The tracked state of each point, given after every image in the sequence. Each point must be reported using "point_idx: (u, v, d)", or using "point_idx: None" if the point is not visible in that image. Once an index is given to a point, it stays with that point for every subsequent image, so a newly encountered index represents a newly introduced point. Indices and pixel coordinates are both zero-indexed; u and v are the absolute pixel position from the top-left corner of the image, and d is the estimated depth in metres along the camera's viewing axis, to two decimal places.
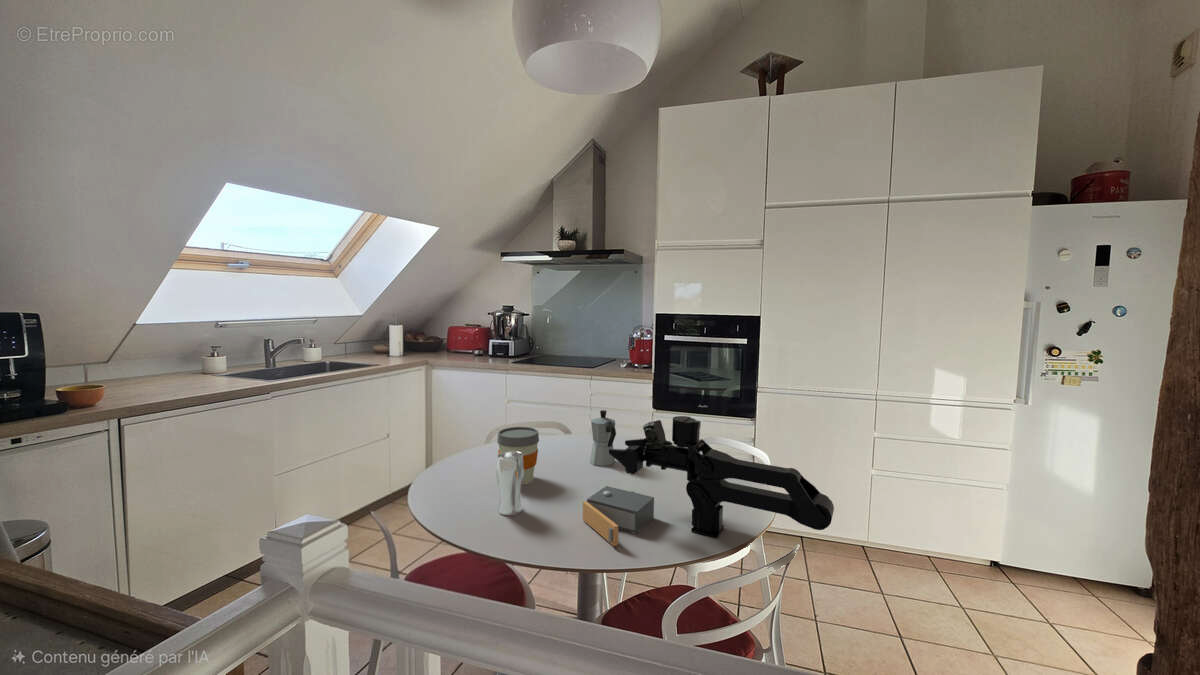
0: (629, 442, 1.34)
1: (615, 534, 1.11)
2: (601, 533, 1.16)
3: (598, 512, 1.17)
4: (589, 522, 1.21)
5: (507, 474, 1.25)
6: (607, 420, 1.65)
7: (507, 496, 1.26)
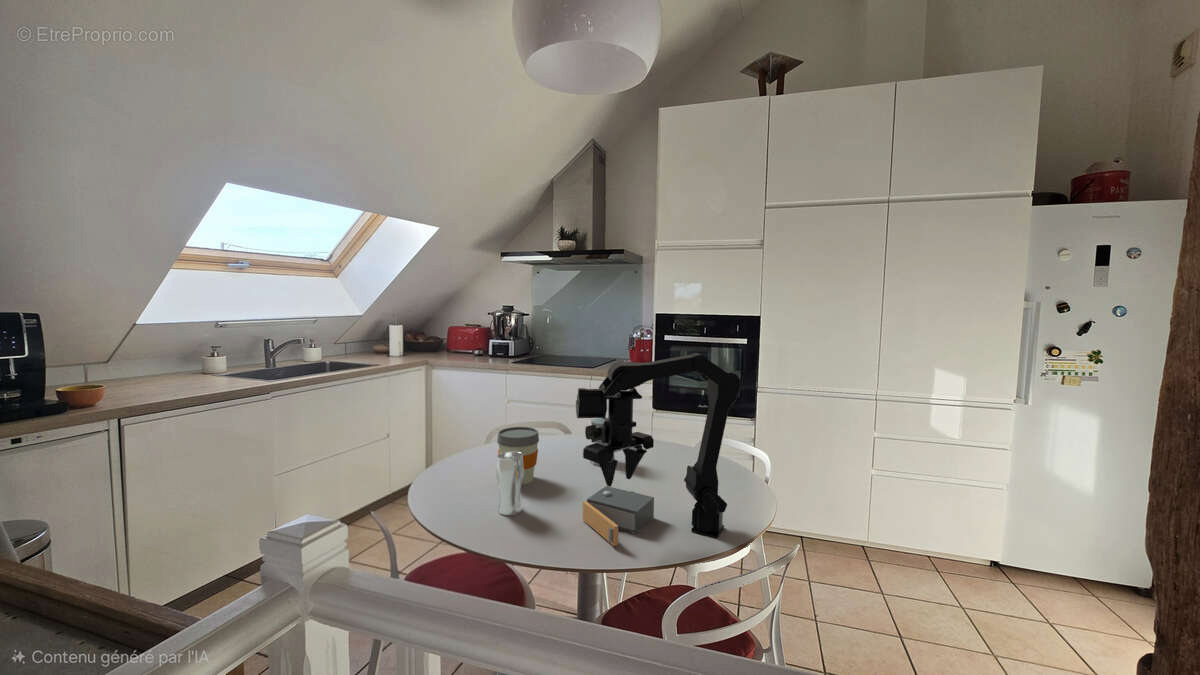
0: (627, 473, 1.18)
1: (615, 534, 1.11)
2: (601, 533, 1.16)
3: (598, 512, 1.17)
4: (589, 522, 1.21)
5: (507, 474, 1.25)
6: None
7: (507, 496, 1.26)
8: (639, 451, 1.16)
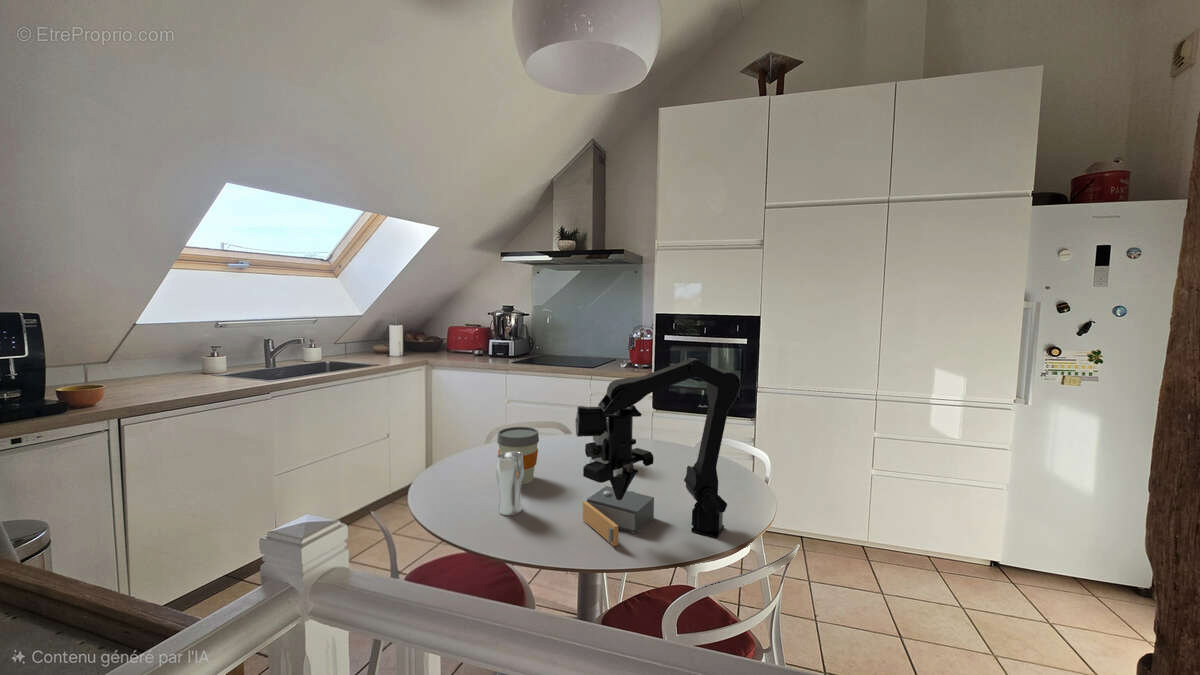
0: None
1: (615, 534, 1.11)
2: (601, 533, 1.16)
3: (598, 512, 1.17)
4: (589, 522, 1.21)
5: (507, 474, 1.25)
6: (607, 420, 1.65)
7: (507, 496, 1.26)
8: (631, 471, 1.15)
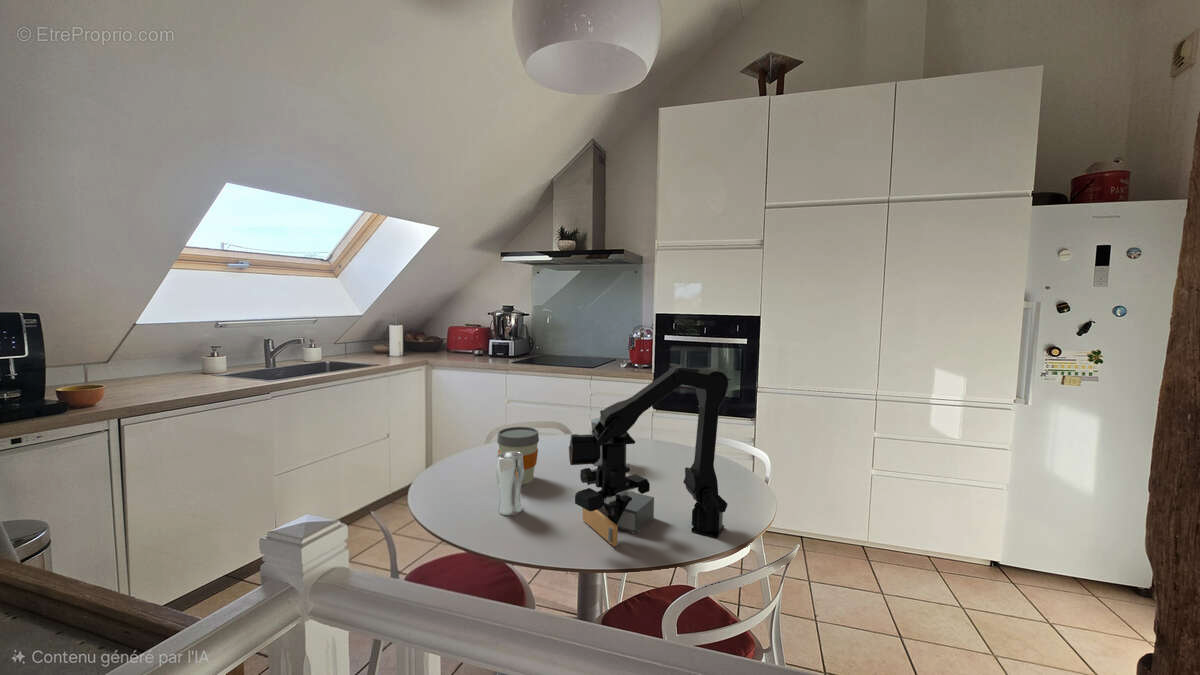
0: (612, 520, 1.15)
1: (614, 534, 1.11)
2: (601, 533, 1.16)
3: (598, 512, 1.17)
4: (589, 522, 1.21)
5: (507, 474, 1.25)
6: None
7: (507, 496, 1.26)
8: (624, 499, 1.14)
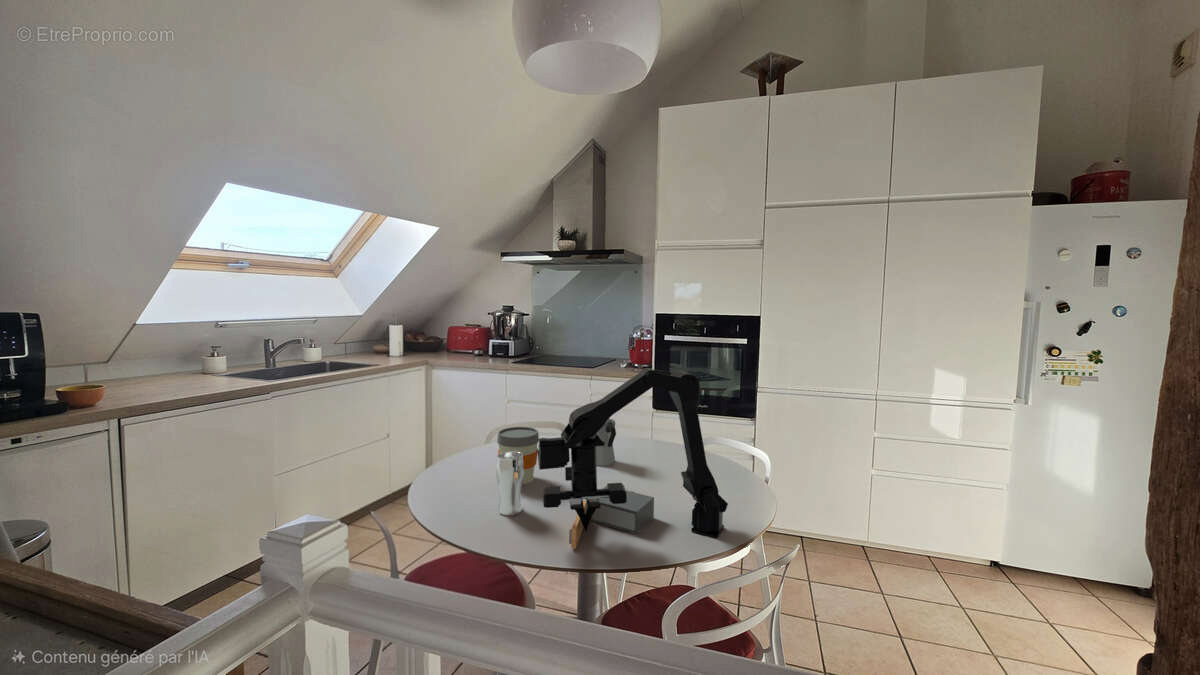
0: None
1: (572, 537, 1.09)
2: None
3: None
4: None
5: (507, 474, 1.25)
6: (607, 420, 1.65)
7: (507, 496, 1.26)
8: (590, 505, 1.10)
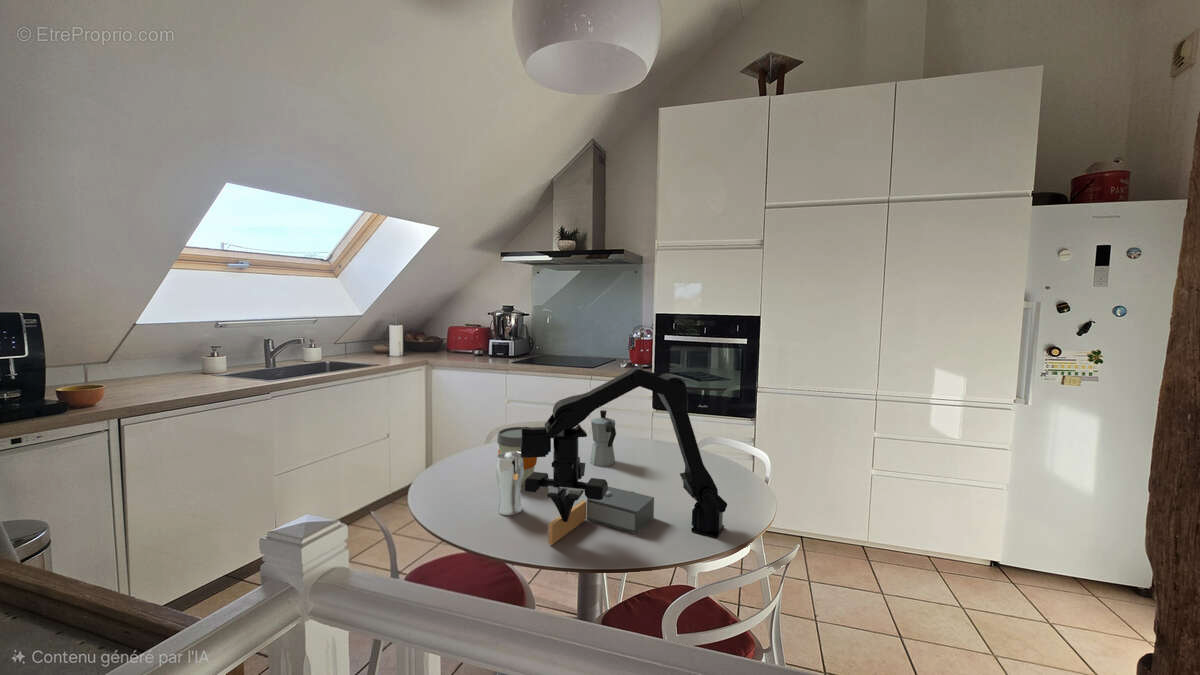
0: None
1: (549, 532, 1.11)
2: None
3: None
4: None
5: (507, 474, 1.25)
6: (607, 420, 1.65)
7: (507, 496, 1.26)
8: (568, 496, 1.11)
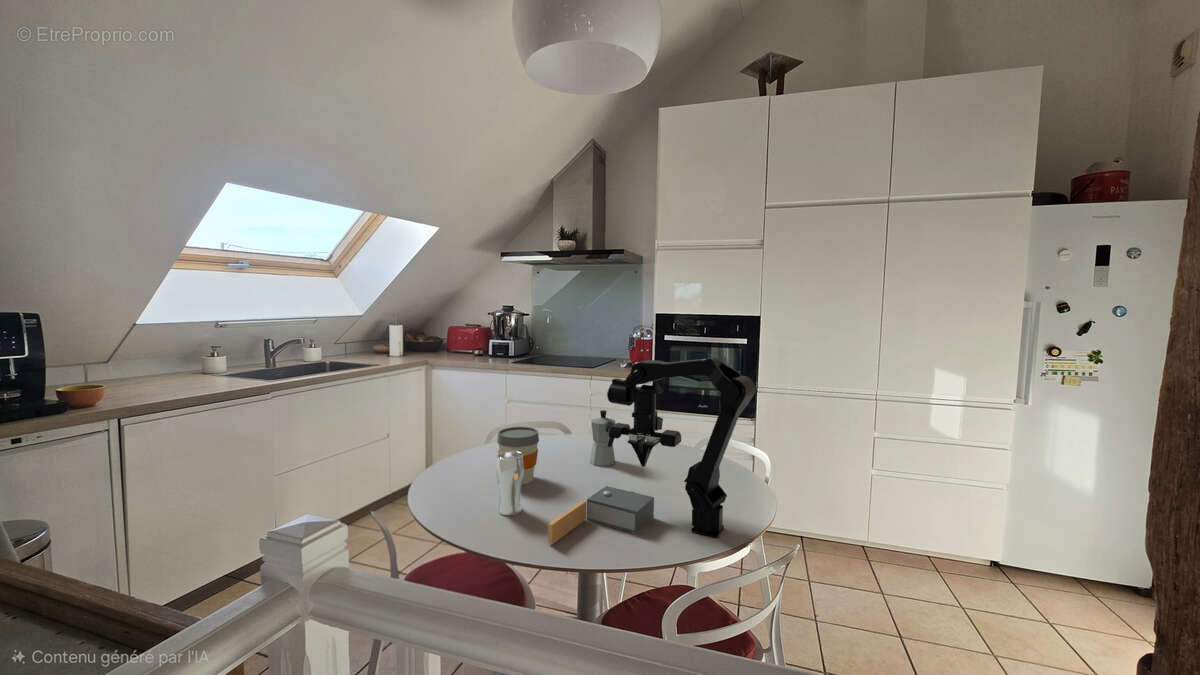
0: None
1: (549, 532, 1.11)
2: None
3: (569, 511, 1.18)
4: None
5: (507, 474, 1.25)
6: (607, 420, 1.65)
7: (507, 496, 1.26)
8: (645, 443, 1.27)
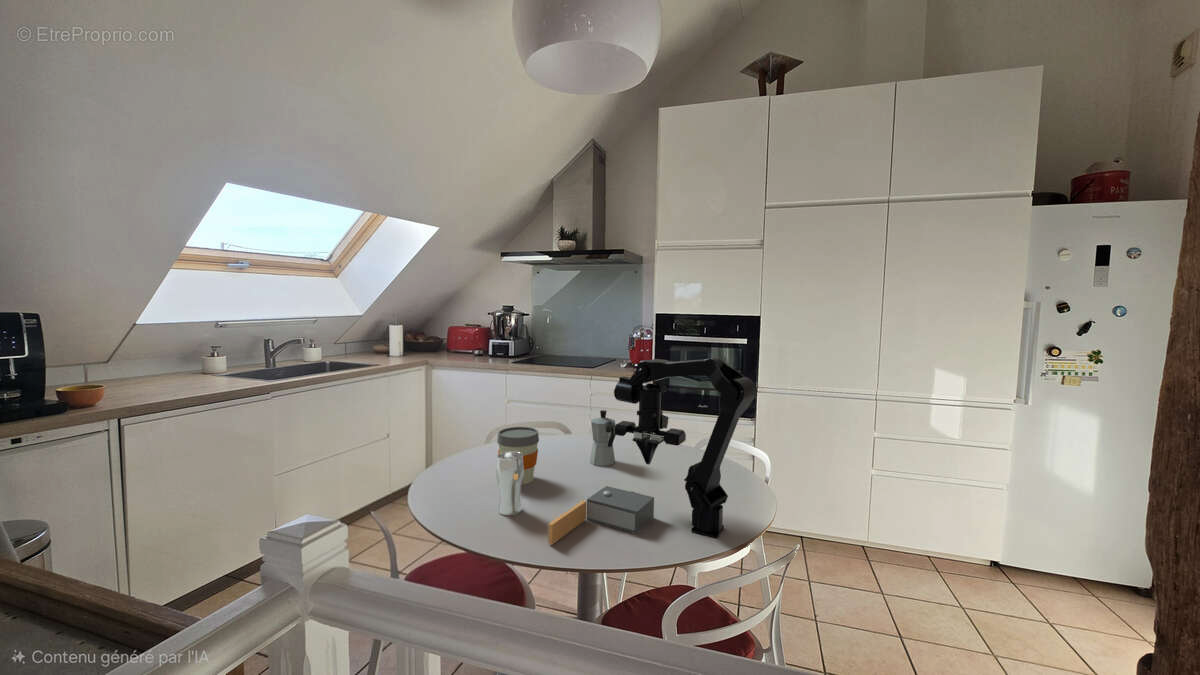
0: None
1: (549, 532, 1.11)
2: None
3: (569, 511, 1.18)
4: None
5: (507, 474, 1.25)
6: (607, 420, 1.65)
7: (507, 496, 1.26)
8: (650, 441, 1.28)
